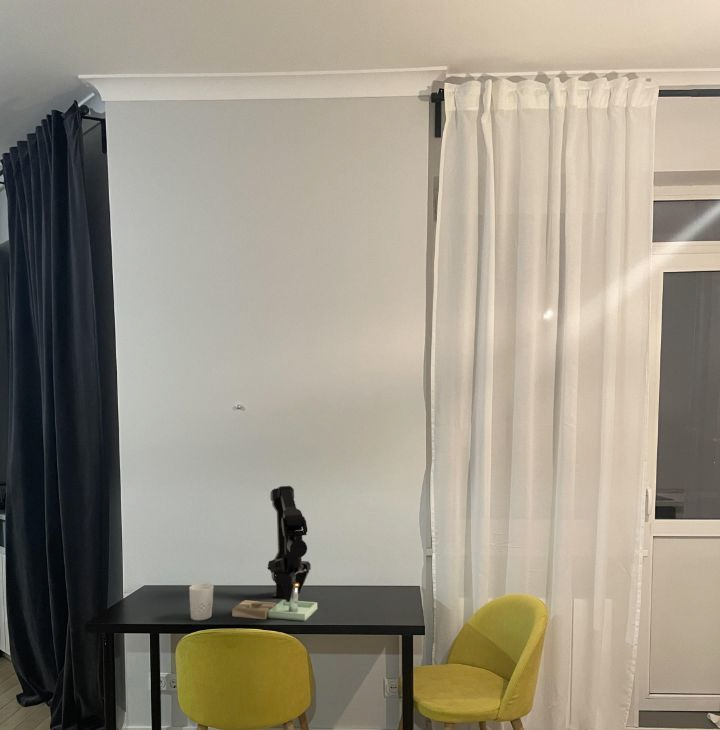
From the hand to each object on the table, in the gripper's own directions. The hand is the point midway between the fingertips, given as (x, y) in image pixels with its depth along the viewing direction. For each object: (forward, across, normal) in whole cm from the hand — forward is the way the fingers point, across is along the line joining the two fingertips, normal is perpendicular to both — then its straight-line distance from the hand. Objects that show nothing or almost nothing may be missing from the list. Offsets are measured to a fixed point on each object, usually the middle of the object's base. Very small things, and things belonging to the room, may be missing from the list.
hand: (293, 597), depth 200 cm
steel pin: (+5, 0, 0) cm, 5 cm away
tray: (+5, 0, 0) cm, 5 cm away
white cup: (+5, +10, -29) cm, 31 cm away
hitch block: (+5, +3, -13) cm, 14 cm away
